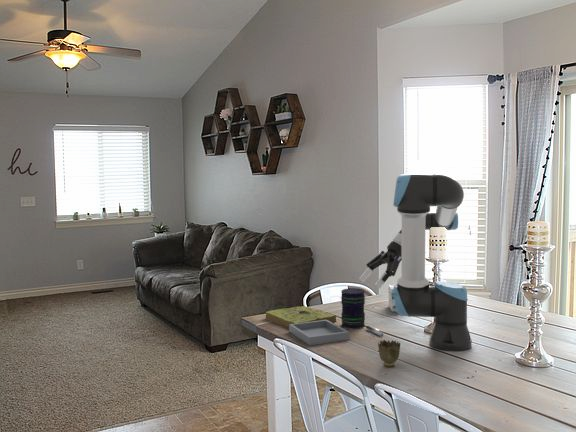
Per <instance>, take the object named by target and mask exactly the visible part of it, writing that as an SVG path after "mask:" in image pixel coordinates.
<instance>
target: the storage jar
mask: <svg viewBox="0 0 576 432" xmlns="http://www.w3.org/2000/svg"><path fill="white" fill-rule="evenodd" d="M340 298H341V310H342V311H341V314H340V315H341V328H343V329H345V328H346V329H348V330H349V329H352V330H355V329H362V328H364V327H365V326H366V325H365V323H366V322H365V321H366V312H365V303H366V301H365V300H366V299H365V298H366V296H365V290H364V289H362V288H351V287H350V288H344V289H343V288H342V290H341V297H340Z"/></svg>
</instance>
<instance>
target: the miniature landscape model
mask: <svg viewBox="0 0 576 432" xmlns="http://www.w3.org/2000/svg"><path fill="white" fill-rule="evenodd" d="M268 319H269V320H268ZM265 320H268V321H270V320H271V322H274V323H276V324H278V325H280V326H283V325H284V326H283V327H286V328H288V327H289V324H296V323H304V322H312V321H320V320H328V321H330V322H332V323H337V316H336V314H333V313H331V312H327V311H324V310H321V309H316V308H312V307H310V306H305V305H303V306H302V305H299V306H294V307H288V308H286V307H284V308H280V309H279V308H278V309H272V310H268V311H266V312H265Z"/></svg>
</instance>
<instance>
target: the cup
mask: <svg viewBox="0 0 576 432" xmlns="http://www.w3.org/2000/svg"><path fill="white" fill-rule="evenodd" d="M377 345H378V347H377V348H378V354H379V358H380V360H381V361H382V362H383V365H384V367H386V368H393V367H394V366H395V364H396V362H397V360H399V357H400V353H401V352H400V351H401V349H400V348H401V342H399V341H396V340H391V341H390V340H389V339H388V340H386V339H383V340H380V342H377Z"/></svg>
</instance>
